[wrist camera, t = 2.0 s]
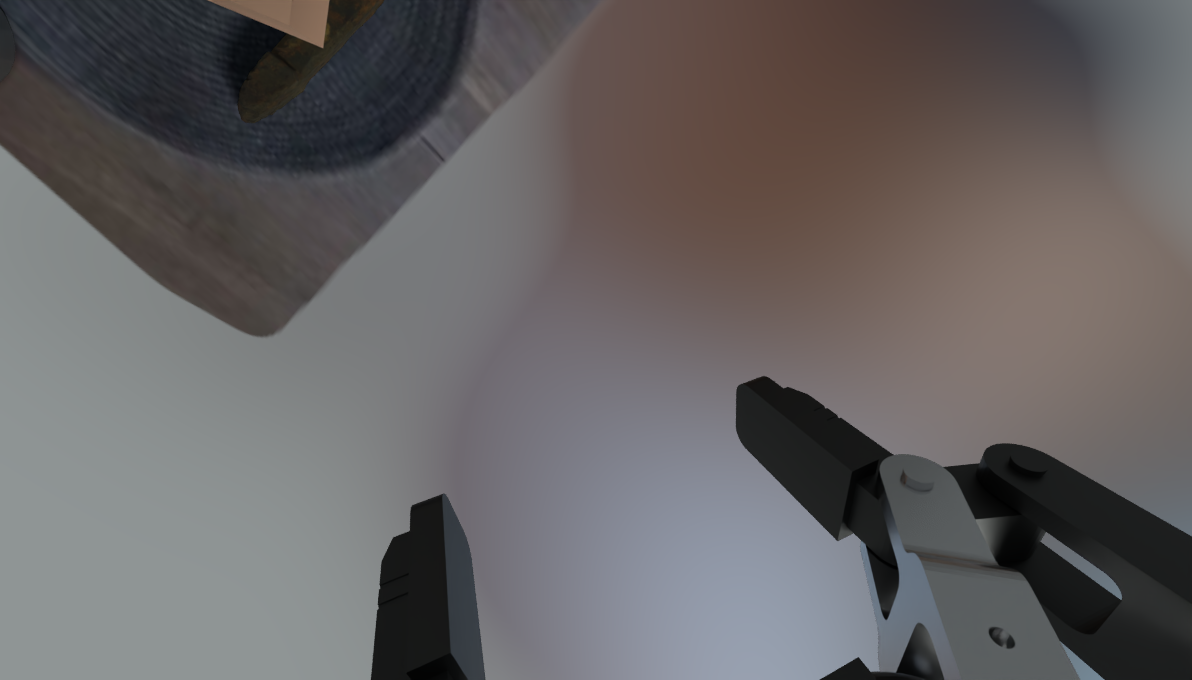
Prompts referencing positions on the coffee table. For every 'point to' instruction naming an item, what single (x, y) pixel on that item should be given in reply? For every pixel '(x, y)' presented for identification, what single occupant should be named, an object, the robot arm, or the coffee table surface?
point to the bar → (286, 16)
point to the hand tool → (299, 61)
